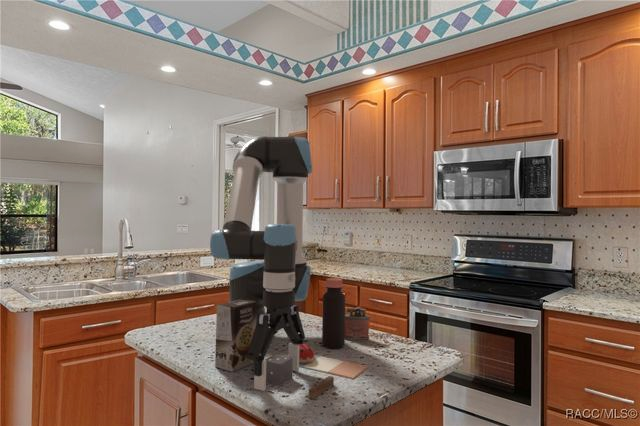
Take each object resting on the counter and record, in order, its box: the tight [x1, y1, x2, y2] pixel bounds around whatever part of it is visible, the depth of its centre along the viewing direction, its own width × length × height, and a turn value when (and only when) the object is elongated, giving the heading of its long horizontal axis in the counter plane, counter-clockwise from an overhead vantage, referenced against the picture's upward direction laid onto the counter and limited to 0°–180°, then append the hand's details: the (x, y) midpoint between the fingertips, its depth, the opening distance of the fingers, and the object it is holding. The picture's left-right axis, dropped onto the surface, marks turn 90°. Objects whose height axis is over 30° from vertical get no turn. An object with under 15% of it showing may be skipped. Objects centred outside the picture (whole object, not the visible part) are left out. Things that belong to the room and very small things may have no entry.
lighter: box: [345, 306, 370, 342], centre depth 132 cm, size 8×3×10 cm, turn 84°
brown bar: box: [308, 375, 335, 400], centre depth 92 cm, size 1×9×2 cm, turn 150°
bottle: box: [321, 277, 346, 350], centre depth 125 cm, size 7×7×20 cm
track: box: [299, 354, 369, 379], centre depth 109 cm, size 21×9×1 cm, turn 60°
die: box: [264, 353, 293, 387], centre depth 98 cm, size 5×5×5 cm
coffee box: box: [214, 299, 257, 372], centre depth 108 cm, size 9×6×16 cm
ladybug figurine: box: [287, 343, 316, 363], centre depth 112 cm, size 7×10×4 cm
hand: (277, 379), depth 98 cm, fingers open, 13 cm apart
